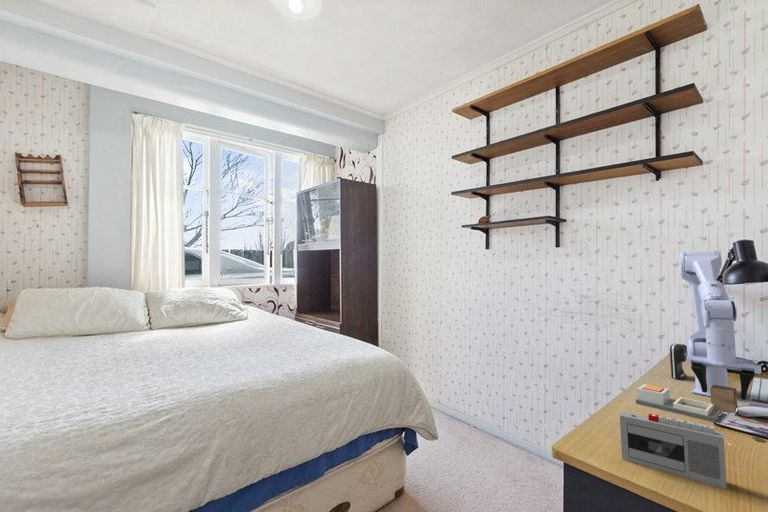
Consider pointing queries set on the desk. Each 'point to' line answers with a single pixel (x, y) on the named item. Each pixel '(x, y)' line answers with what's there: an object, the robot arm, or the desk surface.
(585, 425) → the desk surface
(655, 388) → the button
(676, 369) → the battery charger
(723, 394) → the block
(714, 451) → the cassette player
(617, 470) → the desk surface
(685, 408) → the grey tray with holders
